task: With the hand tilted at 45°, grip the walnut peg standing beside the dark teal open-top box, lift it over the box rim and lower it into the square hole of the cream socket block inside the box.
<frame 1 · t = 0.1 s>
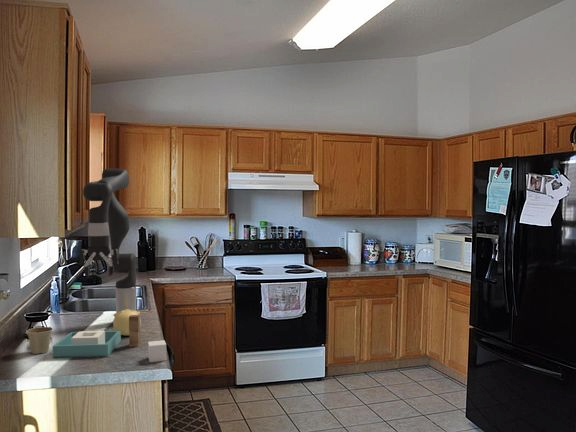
hand: (99, 276, 198), 29 cm above the table, tool pointing down, fingers open, 8 cm apart
sculpture: (127, 334, 223), on the table
flower pot: (40, 352, 198), on the table
light grey cube: (157, 359, 188), on the table
socket box: (88, 349, 201), on the table
peg: (134, 345, 206), on the table
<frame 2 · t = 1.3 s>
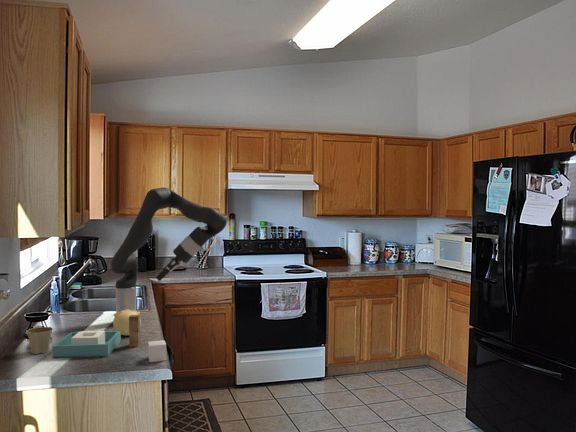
hand: (159, 277, 208), 27 cm above the table, tool tilted 45°, fingers open, 8 cm apart
nothing on the table moved.
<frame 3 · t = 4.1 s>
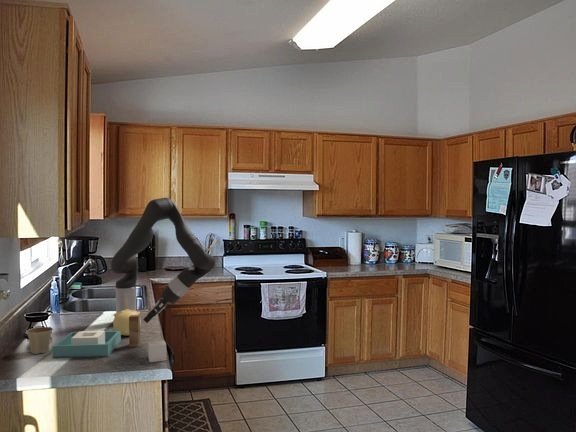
hand: (147, 318, 206), 11 cm above the table, tool tilted 45°, fingers open, 8 cm apart
nothing on the table moved.
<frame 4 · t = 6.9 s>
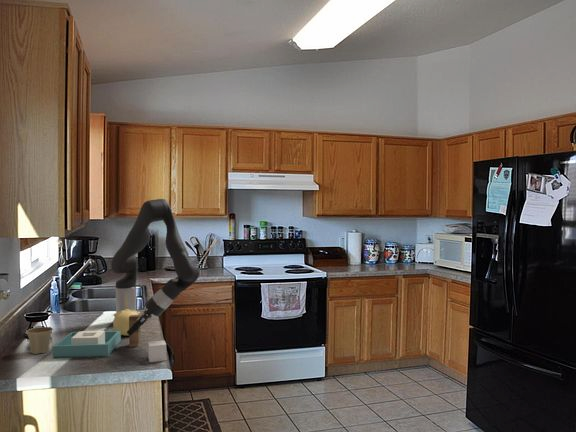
hand: (129, 332, 206), 5 cm above the table, tool tilted 45°, fingers closed on peg, 3 cm apart
peg: (135, 345, 206), on the table, touching gripper
everything else where it was.
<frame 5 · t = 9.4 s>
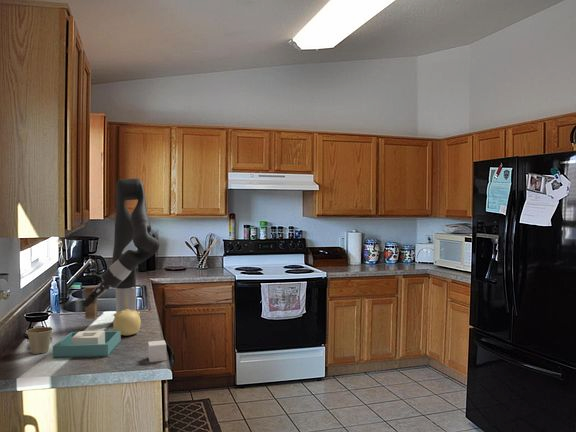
hand: (85, 304, 200), 18 cm above the table, tool tilted 45°, fingers closed on peg, 3 cm apart
peg: (91, 317, 200), point 13 cm above the table, touching gripper
everything else where it was.
when the fingers open (9 cm above the table, at t = 12.0 s): peg drops 3 cm, resting on socket box.
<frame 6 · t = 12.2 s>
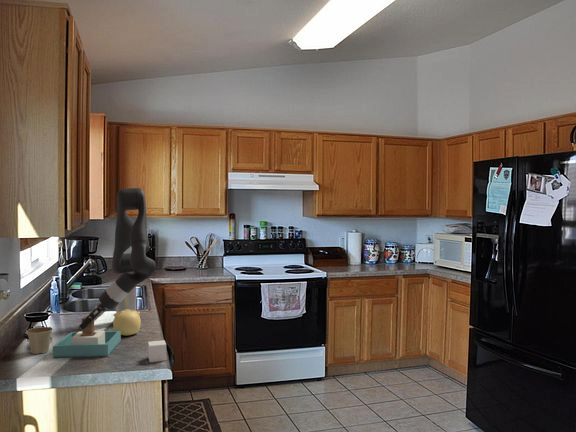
hand: (83, 325, 200), 9 cm above the table, tool tilted 45°, fingers open, 5 cm apart
peg: (88, 347, 200), point 1 cm above the table, touching socket box
everything else where it was.
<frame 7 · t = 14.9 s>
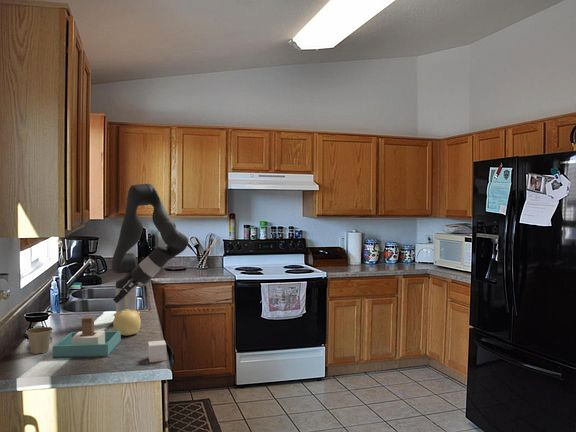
hand: (117, 299, 201), 20 cm above the table, tool tilted 45°, fingers open, 8 cm apart
nothing on the table moved.
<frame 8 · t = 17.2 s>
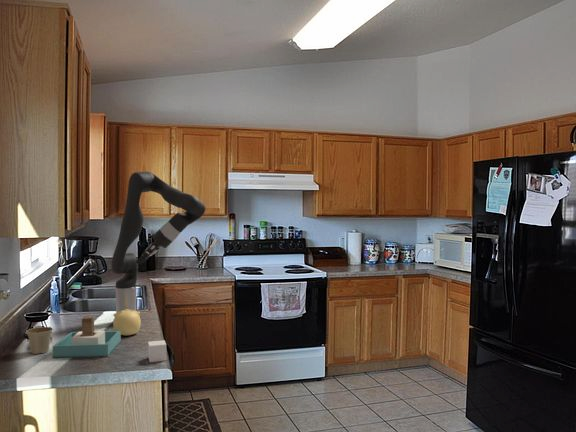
hand: (139, 262, 214), 33 cm above the table, tool tilted 45°, fingers open, 8 cm apart
nothing on the table moved.
at the end: peg 0.1 cm off-centre on the socket box, point 0.6 cm above the socket box's base; peg tilted 0°; the gripper is holding nothing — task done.
